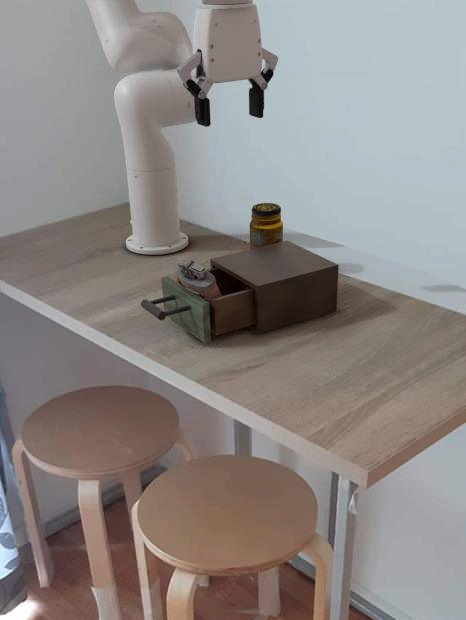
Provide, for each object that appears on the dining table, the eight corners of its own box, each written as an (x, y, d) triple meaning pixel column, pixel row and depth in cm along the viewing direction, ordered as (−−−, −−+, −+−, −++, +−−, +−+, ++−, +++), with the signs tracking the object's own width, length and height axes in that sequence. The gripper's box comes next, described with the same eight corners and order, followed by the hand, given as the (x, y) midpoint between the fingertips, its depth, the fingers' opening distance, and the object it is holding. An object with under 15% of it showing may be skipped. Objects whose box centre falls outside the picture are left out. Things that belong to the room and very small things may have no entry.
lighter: (188, 308, 135) (164, 262, 127) (201, 294, 135) (179, 248, 128) (221, 324, 130) (198, 278, 122) (235, 310, 131) (213, 263, 123)
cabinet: (258, 334, 131) (257, 286, 126) (211, 304, 141) (209, 258, 136) (336, 311, 137) (338, 264, 133) (286, 284, 148) (287, 240, 143)
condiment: (292, 272, 152) (293, 207, 145) (254, 283, 148) (253, 216, 142) (269, 261, 157) (269, 198, 150) (232, 271, 154) (230, 206, 147)
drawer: (171, 352, 124) (168, 313, 121) (133, 322, 134) (129, 285, 130) (282, 320, 133) (282, 283, 129) (238, 294, 142) (237, 258, 139)
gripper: (262, -11, 126) (263, 109, 136) (162, -3, 119) (170, 124, 128) (290, -8, 121) (289, 117, 130) (187, 1, 113) (194, 133, 123)
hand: (230, 120), depth 129 cm, fingers open, 9 cm apart
